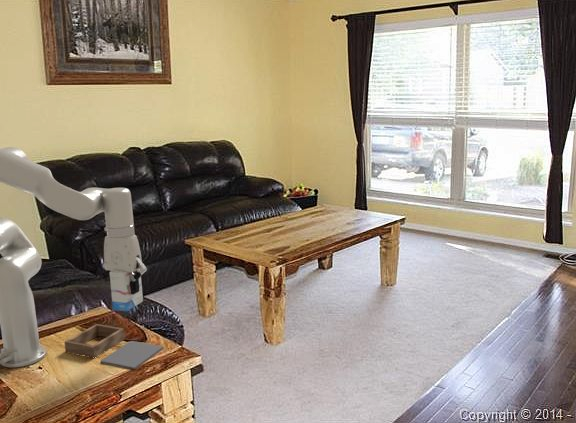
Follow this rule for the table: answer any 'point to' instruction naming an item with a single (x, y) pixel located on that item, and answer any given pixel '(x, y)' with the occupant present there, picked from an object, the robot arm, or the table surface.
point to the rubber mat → (132, 355)
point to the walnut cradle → (111, 334)
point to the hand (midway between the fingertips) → (126, 291)
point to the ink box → (123, 291)
